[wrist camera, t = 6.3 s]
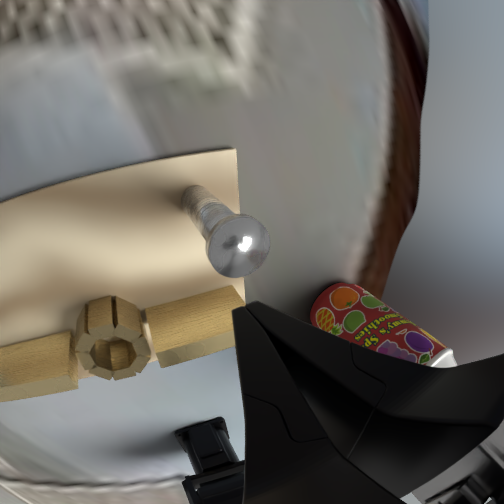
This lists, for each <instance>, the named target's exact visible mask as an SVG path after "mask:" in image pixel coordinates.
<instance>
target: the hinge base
mask: <svg viewBox="0 0 504 504" xmlns="http://www.w3.org/2000/svg"><path fill="white" fill-rule="evenodd" d="M245 305H246V303H245V302H244V301H243V299H242V298H241V296H240V295H239V294H238V292H237V291H236V290H235V288H234V287H233V285H229V286H226V287H222V288H219V289H215V290H211V291H208V292H204V293H200V294H197V295H193V296H189V297H186V298H182V299H178V300H175V301H171V302H167V303H163V304H160V305H156V306H152V307H148V308H145V312H146V316H147V321H148V325H149V329H150V334H151V338H152V342H153V346H154V349H155V353H156V356H157V358H158V361H159V364H160V366H161V368H164V367H168V366H171V365H175V364H178V363H182V362H185V361H189V360H192V359H195V358H199V357H202V356H205V355H209V354H212V353H215V352H218V351H221V350H224V349H227V348H230V347H233V346H235V339H234V331H233V322H232V314H231V311H232V309H235V308H237V307H240V306H245ZM111 336H116V337H119V338H121V339H120V340H116V341H112V342H108V341H106V340H103V338H107V337H111ZM151 354H152V353H151V349H150V345H149V341H148V336H147V332H146V327H145V324H144V321H143V318H142V315H141V312H140V309H137V307H136V305H135V304H133V303H130V302H128V301H126V300H124V299H122V298H120V297H118V296H115V298H114V300H112V297H111V295H109V296H105V297H102V298H98V299H94V300H90V301H89V305H88V304H86V303H85V305H84V307H83V309H82V311H81V313H80V314H79V316H78V318H77V321H76V335H75V355H76V356H77V358H78V360H79V361H80V363H81V365H82V366H83V368H84V370H89V373H90V374H93V375H96V376H98V377H101V378H104V379H107V380H110V379H111V378H112V376H113V378H114V380H119V379H123V378H128V377H132V376H136V372H138V373H141V371H142V370H143V368H144V367H145V366H146V364H147V363H148V362H149V360H150V359H151Z"/></svg>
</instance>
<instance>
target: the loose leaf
mask: <svg viewBox="0 0 504 504" xmlns="http://www.w3.org/2000/svg"><path fill="white" fill-rule="evenodd" d="M74 389H78V358H77V356H76V355H75V337H74V336H73V334H72V332H71V330H70V331H66V332H62V333H58V334H54V335H50V336H47V337H43V338H39V339H35V340H31V341H27V342H23V343H19V344H14V345H10V346H6V347H2V348H0V402H5V401H13V400H19V399H26V398H32V397H38V396H43V395H49V394H54V393H59V392H64V391H69V390H74Z"/></svg>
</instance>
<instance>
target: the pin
mask: <svg viewBox="0 0 504 504" xmlns="http://www.w3.org/2000/svg"><path fill="white" fill-rule="evenodd" d="M181 206H182V208H183V210H184V211H185V212H186V214H187V215H188V217H189V218H190V220H191V221H192V222H193V224H194V225H195V227H196V228H197V229H198V231H199V232H200V234H201V235H202V236H203V238H204V239H205V241H206V244H205V251H206V255H207V258H208V260H209V262H210V263H211V265H212V266H213V268H214V269H215V270H216V271H217V272H218V273H219V274H221V275H223V276H225V277H229V278H240V277H244V276H246V275H249V274H251V273H252V272H254V271H255V270H256V269H258V268H259V267H260V266H261V264H262V263H263V262H264V260H265V259H266V257H267V255H268V252H269V248H270V237H269V234H268V231H267V229H266V228H265V227H264V226H263V225H262V224H261V223H260V222H259V221H257V220H256V219H255V218H253V217H252V216H249V215H246V214H235V213H234V212H233V211H232V210H230V209H229V208H228V207H227V206H226V205H225V204H223V203H222V202H221V201H220V200H219V199H218V198H216V197H215V196H214V195H213V194H212V193H210V192H209V191H208V190H207V189H206V188H204V187H202V186H198V185H196V186H191V187H189V188H188V189H186V190H185V192H184V193H183V195H182V197H181Z"/></svg>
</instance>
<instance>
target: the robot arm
mask: <svg viewBox="0 0 504 504" xmlns="http://www.w3.org/2000/svg"><path fill="white" fill-rule="evenodd" d="M231 314H232V322H233V331H234V339H235V347H236V355H237V363H238V370H239V378H240V385H241V393H242V401H243V408H244V419H245V460H242V461H239V459H238V457H237V455H236V453H235V451H234V449H233V447H232V445H231V443H230V441H229V434H228V431H227V427H226V423H225V420H224V418H218V419H215V420H212V421H209V422H206V423H203V424H199V425H196V426H193V427H189V428H186V429H183V430H179V431H176V432H175V436H176V438H177V439H178V441H179V443H180V444H181V446H182V447H183V449H184V451H185V452H186V453H187V454H188V457H189V459H190V462H191V464H192V467H193V469H194V471H195V474H196V475H192V476H185V478H186V480H184V481H182V485H183V487H184V490H185V492H186V495H187V498H188V500H189V503H190V504H407V503H405V502H404V501H402V500H401V499H400V498H401V497H403V496H405V495H407V494H409V493H410V492H412V494H413V495H414V496H415V497H416V498H417V499H418V500H419V501H420V502H421V503H422V504H484V503H485V502H486V501H487V499H488V498H489V497H490V498H491V499H492V500H490V501H489V502H488V503H487V504H504V354H501V355H497V356H494V357H490V358H486V359H483V360H479V361H475V362H471V363H467V364H463V365H459V366H454V367H447V368H438V367H431V366H427V365H423V364H419V363H415V362H411V361H407V360H404V359H400V358H396V357H393V356H389V355H386V354H383V353H380V352H377V351H374V350H371V349H369V348H366V347H363V346H361V345H358V344H356V343H353V342H351V343H350V341H348V340H346V339H343V338H341V337H339V336H336V335H334V334H332V333H329V332H327V331H324V330H322V329H320V328H317V327H315V326H313V325H310V324H308V323H306V322H304V321H301V320H299V319H297V318H294V317H292V316H290V315H288V314H285V313H283V312H281V311H279V310H276V309H274V308H272V307H270V306H268V305H265V304H263V303H261V302H259V301H253V302H251V303H248V304H246V305H245V306H240V307H237V308H235V309H232V311H231ZM196 489H197V491H196Z"/></svg>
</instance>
